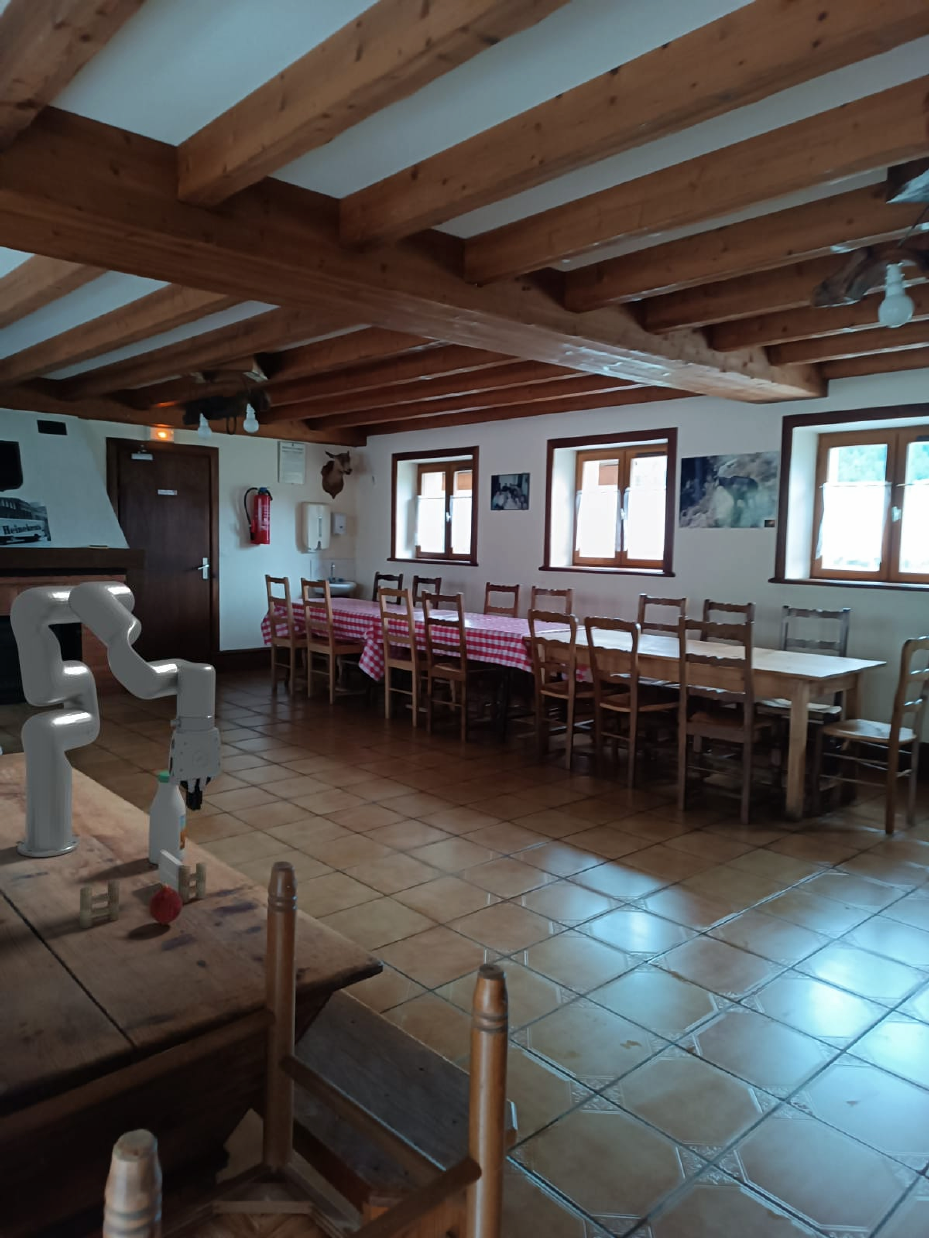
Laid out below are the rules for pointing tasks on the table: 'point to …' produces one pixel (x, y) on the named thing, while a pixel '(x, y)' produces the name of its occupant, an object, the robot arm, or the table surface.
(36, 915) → the table surface
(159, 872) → the gate
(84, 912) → the fence
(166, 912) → the onion
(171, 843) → the milk bottle
